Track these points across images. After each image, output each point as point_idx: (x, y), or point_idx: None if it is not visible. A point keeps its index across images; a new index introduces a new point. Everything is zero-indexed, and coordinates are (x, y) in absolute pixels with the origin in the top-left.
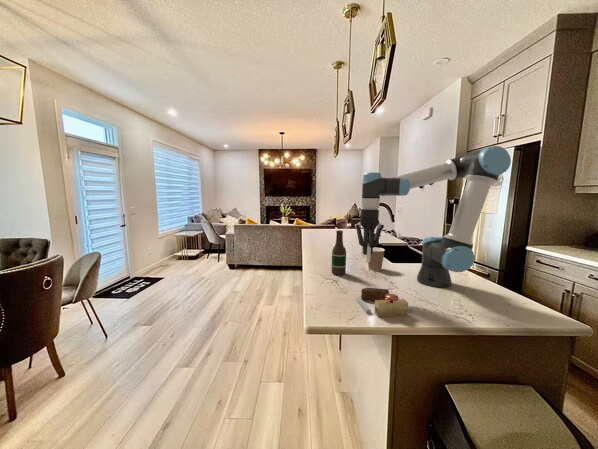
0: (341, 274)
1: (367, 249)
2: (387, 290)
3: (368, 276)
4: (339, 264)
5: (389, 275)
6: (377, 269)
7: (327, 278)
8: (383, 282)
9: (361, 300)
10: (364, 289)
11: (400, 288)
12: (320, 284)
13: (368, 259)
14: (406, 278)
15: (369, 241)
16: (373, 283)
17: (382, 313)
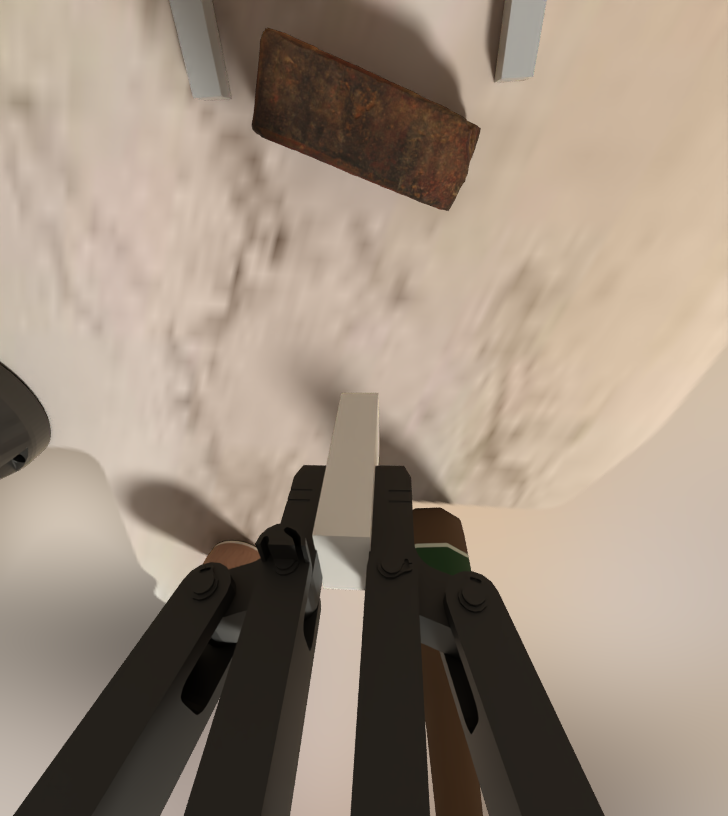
0: (424, 510)
1: (371, 514)
2: (261, 90)
3: None
4: (443, 558)
5: (185, 491)
6: (230, 544)
7: (513, 480)
8: (234, 415)
9: (519, 22)
10: (456, 144)
11: (152, 328)
12: (598, 412)
13: (358, 412)
14: (105, 454)
15: (304, 677)
16: (292, 406)
17: None
